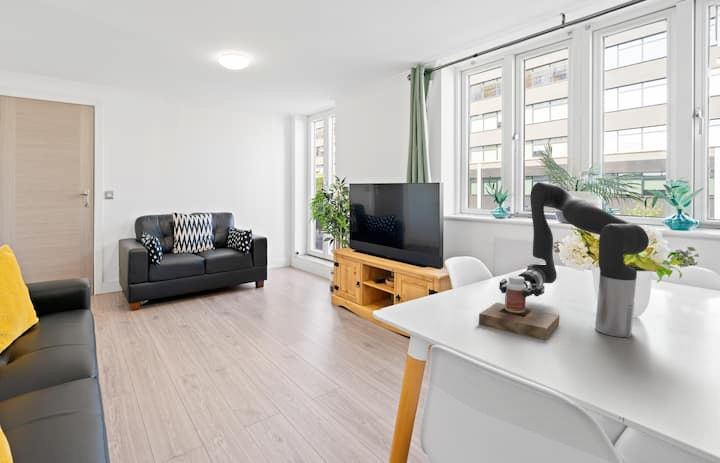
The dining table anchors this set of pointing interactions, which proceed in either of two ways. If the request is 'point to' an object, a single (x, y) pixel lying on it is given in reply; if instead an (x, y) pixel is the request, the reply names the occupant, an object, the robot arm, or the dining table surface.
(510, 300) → the pill bottle
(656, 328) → the dining table surface
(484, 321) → the socket block
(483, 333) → the dining table surface
